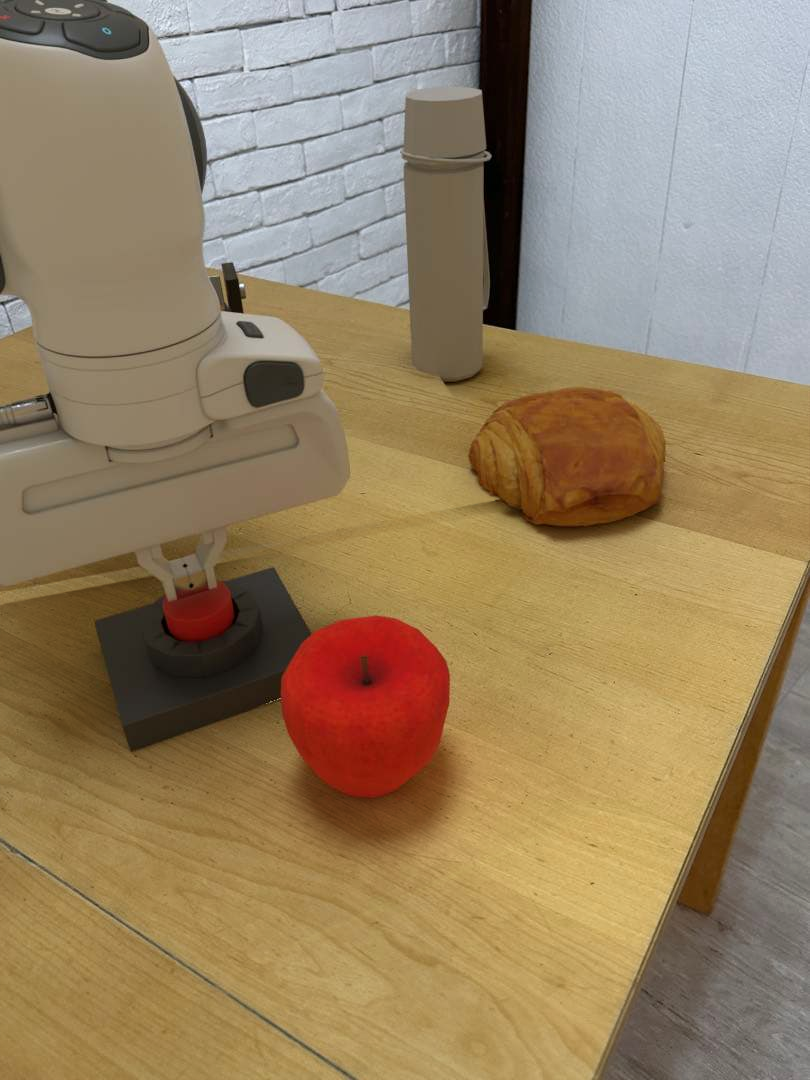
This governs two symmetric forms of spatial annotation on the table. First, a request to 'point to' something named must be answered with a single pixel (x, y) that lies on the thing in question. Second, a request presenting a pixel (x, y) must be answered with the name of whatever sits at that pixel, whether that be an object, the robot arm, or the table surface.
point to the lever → (219, 292)
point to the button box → (200, 661)
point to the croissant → (571, 457)
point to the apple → (366, 703)
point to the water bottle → (446, 229)
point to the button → (200, 614)
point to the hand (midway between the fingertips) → (190, 589)
